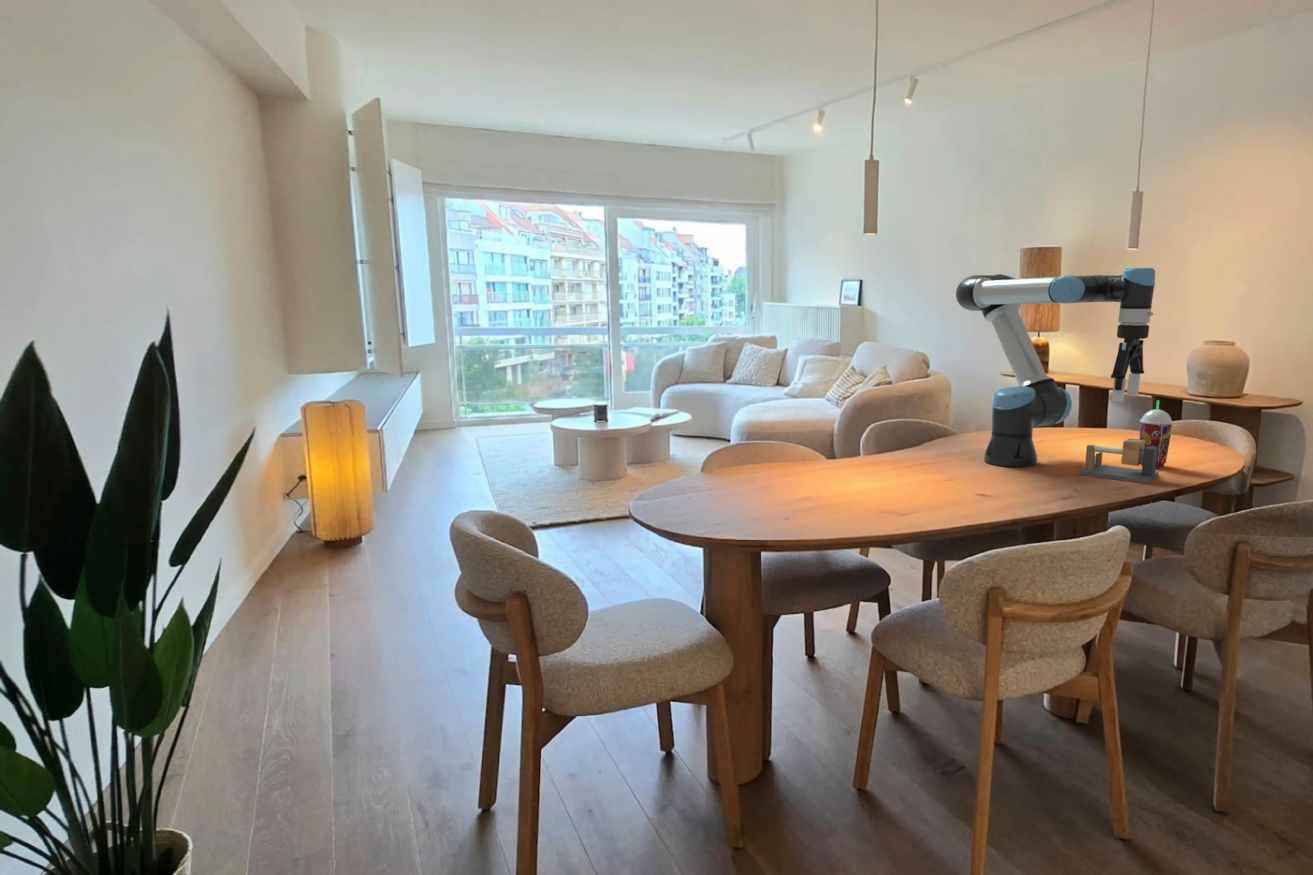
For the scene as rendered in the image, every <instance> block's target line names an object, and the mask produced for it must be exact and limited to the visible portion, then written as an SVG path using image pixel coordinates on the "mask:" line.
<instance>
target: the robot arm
mask: <svg viewBox="0 0 1313 875" xmlns="http://www.w3.org/2000/svg"><path fill="white" fill-rule="evenodd" d="M1155 286H1156V270H1155V269H1154V268H1152V267H1130V268H1129V267H1128V268H1125V269H1124V270H1123V274H1122V275H1113V274H1112V275H1109V274H1108V275H1103V274H1102V275H1101V274H1097V275H1095V274H1094V275H1063V276H1051V277H1050V276H1049V277H1048V276H1047V277H1030V278H1015V277H1013V276H1011V275H1005V274H1001V273H1000V274H993V275H991V274H989V275H988V274H987V275H985V274H984V275H983V274H982V275H979V274H976V275H971V276H967V277H966V278H963V280H961V281H960V282H959V284H958V286H957V287H956V292H955V298H956V301H957V303H958V305H959V306H961V307H962V308H963V309H964V310H967V311H972V312H973V311H974V312H975V311H977V312H978V311H980V312H981V313H982V316H983V317H984V320H985V321H986V322H989V323H991V324H992V326H993V329H994V331H995V333H996V335H997V337H998V340H999V342H1000V345H1001V347H1002V349H1003V352H1004V354H1005V357H1006V359H1007V360H1008V363H1009V366H1010V368H1011V370H1012V373H1013V374H1014V378H1015V380H1016V382H1017V385H1018V386H1009V387H1004V388H1000V389H998V390H996V391H995V393H994V394H993V401H992V412H991V413H992V416H991V417H992V418H991V436H990V440H989V443H988V445H987V447H986V449H985V452H984V457H983V459H984V460H983V461H984V462H985V463H987V464H991V465H995V466H1000V467H1013V468H1014V467H1015V468H1018V467H1019V468H1021V467H1026V468H1027V467H1033V466H1036V465H1037V464H1038V455H1037V451H1036V448H1035V444H1034V441H1033V431H1034V430H1033V429H1034V428H1035V427H1044V426H1053V425H1056V424H1059V423H1062V422H1063V421H1065V420H1066V419H1067V418H1069V417H1068V416H1070V411H1071V410H1072V406H1073V402H1072V398H1071V395H1070V393H1069V392H1068V391H1067V390H1066V389H1063V388H1062V387H1058V385H1057V383H1056V380H1055V378H1053V377H1051V376H1048V374H1046V371H1045V369H1044V367H1043V364H1042V362H1041V360H1040V358H1039V356H1038V353H1037V351H1036V349H1035V345H1034V344H1033V342H1032V338H1031V336H1030V334H1029V333H1028V330H1027V328H1026V326H1025V323H1024V321H1023V319H1022V316H1021V315H1020V312H1019V311H1020V309H1021V307H1022V305H1024V304H1025V305H1027V304H1028V305H1029V304H1033V305H1034V304H1065V305H1066V304H1077V303H1079V304H1080V303H1120V304H1119V313H1118V319H1117V321H1118V323H1120V324H1118V325H1117V331H1116V332H1117V333H1116V337H1117V338H1118V339H1123V342H1122V341H1121V342H1119V344H1118V349H1117V350H1118V351H1117V355H1116V358H1115V363H1114V366H1113V370H1112V373H1111V374H1110V378H1111V379H1114V380H1113V387H1112V396H1111V402H1114V403H1115V402H1117V403H1124V400H1125V399H1124V398H1125V395H1126V397H1138V396H1139V389H1140V381H1141V374H1142V375H1144V373H1145V370H1144V342H1145V341H1144V339H1147V338H1148V337H1149V332H1150V325H1149V323H1150V322H1151V317H1152V316H1153V315H1154V313H1153V312H1152V304H1153V297H1154V289H1155ZM1129 369H1130V370H1129ZM1128 370H1129V372H1130V373H1128ZM1127 373H1128V379H1126V376H1127ZM1126 382H1127V383H1126ZM1126 384H1127V388H1126ZM1125 392H1126V394H1125Z"/></svg>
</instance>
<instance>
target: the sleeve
mask: <svg viewBox="0 0 1313 875" xmlns="http://www.w3.org/2000/svg"><path fill="white" fill-rule="evenodd" d="M1144 448H1145V440H1140V438H1139V439H1138V438H1128V439H1126V440H1124V441H1122V449H1123V451H1122V454H1121V462H1120V463H1121V465H1127V466H1135V467H1138V466H1141V464H1142V463H1143V459H1141V457H1140V451H1142V450H1143V449H1144Z"/></svg>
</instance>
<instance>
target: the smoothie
mask: <svg viewBox="0 0 1313 875" xmlns="http://www.w3.org/2000/svg"><path fill="white" fill-rule="evenodd" d="M1155 406H1156V407H1155V408H1156V409H1155V408H1154V409H1151V410H1148V411H1147V412H1146V413H1144V414H1143V416H1142V417H1141V419H1139V439H1140V440H1145V447H1147V446H1152V447H1158V449H1157V460H1156V469H1160V468H1161V469H1162V468H1163V467H1164V466H1165V464H1167V458H1168V451H1169V446H1170V442H1171V436H1172V435H1171V434H1172V429H1173V424H1174V421H1173V419H1172V417H1171V416H1170V414H1169V413H1167V412H1166V411H1165V410H1162V409H1160V399H1159V400H1156V405H1155ZM1142 464H1143V463H1142ZM1142 464H1140V466H1142Z"/></svg>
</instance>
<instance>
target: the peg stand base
mask: <svg viewBox="0 0 1313 875" xmlns="http://www.w3.org/2000/svg"><path fill="white" fill-rule="evenodd" d="M1157 449H1158V447H1152V446H1147V447H1145V448H1144V449H1143V450H1142V451H1140V457H1141V459H1143V464H1142V465H1141V466H1142V467H1141V469H1139V468H1129V467H1122V466H1121V467H1120V466H1115V465H1114V466H1113V465H1105V464H1102V463H1103V462H1102V461H1103V453H1106V454H1112V455H1122V451H1123V448H1119V447H1118V448H1117V447H1116V448H1115V447H1108V446H1099V445H1095V444H1088V445H1086V450H1085V451H1086V452H1085V465H1084V468H1082V469H1081V470H1079V476H1087V477H1094V478H1100V479H1111V480H1116V481H1117V480H1118V481H1125V482H1131V483H1132V482H1133V483H1140V484H1149V483H1151V482H1152V481H1153V480H1155V479H1156V478H1158V476H1159V473H1160V471H1157V470H1156V469H1157V468H1156V460H1157ZM1095 453H1096V454H1095Z"/></svg>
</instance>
